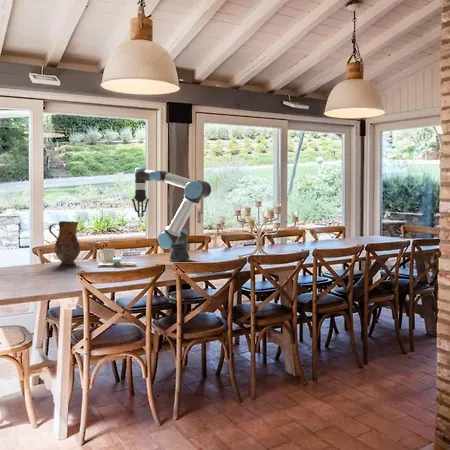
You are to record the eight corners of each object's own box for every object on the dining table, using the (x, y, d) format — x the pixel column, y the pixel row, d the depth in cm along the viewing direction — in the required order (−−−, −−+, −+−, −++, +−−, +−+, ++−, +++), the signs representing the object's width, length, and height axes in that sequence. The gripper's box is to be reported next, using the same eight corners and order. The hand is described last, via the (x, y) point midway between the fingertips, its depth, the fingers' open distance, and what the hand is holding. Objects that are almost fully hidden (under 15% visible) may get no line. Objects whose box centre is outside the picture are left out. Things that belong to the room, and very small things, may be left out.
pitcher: (85, 264, 348) (84, 221, 345) (55, 268, 333) (54, 223, 331) (73, 262, 360) (72, 220, 357) (44, 265, 345) (43, 221, 342)
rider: (120, 265, 342) (120, 257, 341) (120, 266, 336) (120, 259, 335) (113, 265, 341) (113, 257, 340) (112, 266, 335) (112, 259, 335)
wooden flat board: (135, 265, 344) (135, 262, 344) (134, 268, 336) (134, 264, 336) (99, 266, 341) (99, 262, 341) (97, 268, 332) (97, 264, 332)
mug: (111, 264, 351) (111, 250, 350) (95, 263, 353) (94, 249, 352) (116, 262, 359) (116, 248, 358) (100, 262, 361) (100, 248, 360)
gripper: (149, 189, 370) (149, 221, 372) (131, 189, 369) (131, 221, 371) (149, 189, 363) (149, 222, 365) (130, 189, 361) (131, 222, 363)
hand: (140, 221), depth 368 cm, fingers closed
